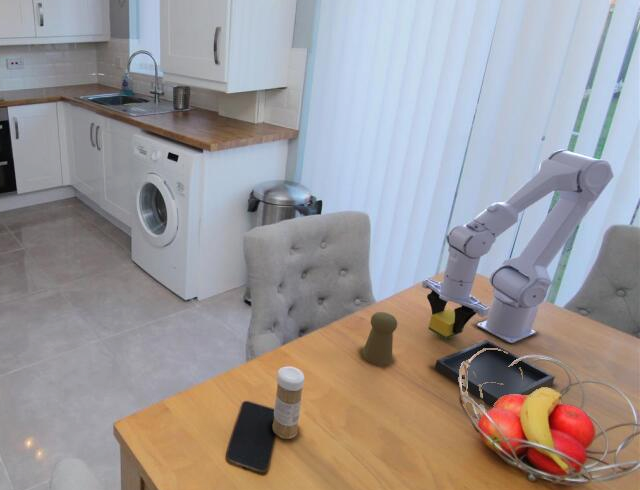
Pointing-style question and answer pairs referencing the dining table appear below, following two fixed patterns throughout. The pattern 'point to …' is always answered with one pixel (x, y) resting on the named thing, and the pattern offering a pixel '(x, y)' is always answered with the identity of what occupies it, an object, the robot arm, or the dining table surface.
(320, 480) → the dining table surface
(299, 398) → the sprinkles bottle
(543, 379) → the tray
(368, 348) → the olive pawn
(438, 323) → the sponge
